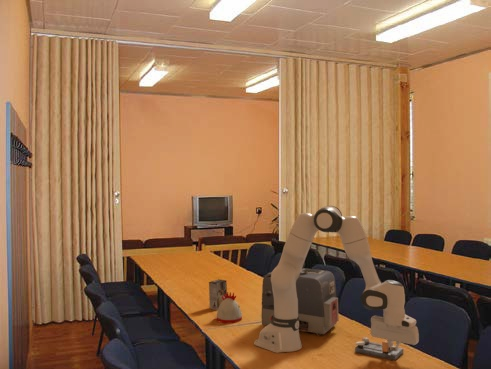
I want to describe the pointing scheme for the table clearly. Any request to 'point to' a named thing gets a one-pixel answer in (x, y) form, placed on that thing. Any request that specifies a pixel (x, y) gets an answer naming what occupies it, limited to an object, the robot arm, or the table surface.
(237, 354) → the table surface
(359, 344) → the plate
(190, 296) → the table surface
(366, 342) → the button
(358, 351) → the console
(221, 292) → the coffee box
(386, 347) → the fader orange
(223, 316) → the kitchen timer
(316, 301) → the film projector
